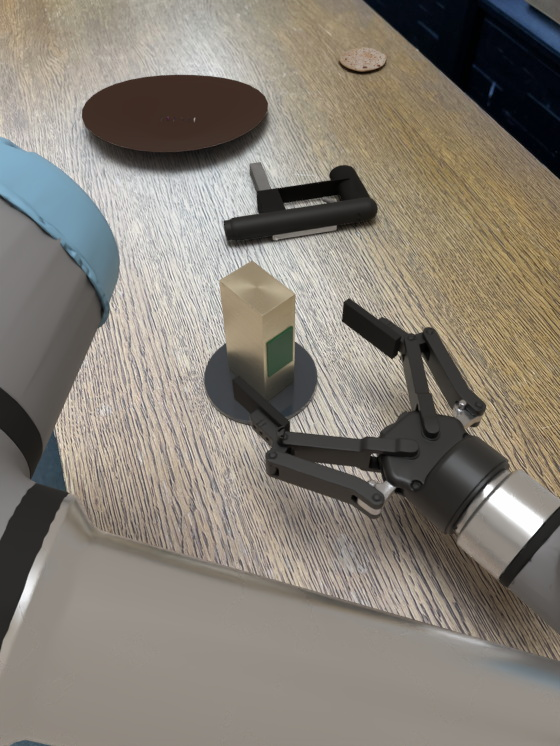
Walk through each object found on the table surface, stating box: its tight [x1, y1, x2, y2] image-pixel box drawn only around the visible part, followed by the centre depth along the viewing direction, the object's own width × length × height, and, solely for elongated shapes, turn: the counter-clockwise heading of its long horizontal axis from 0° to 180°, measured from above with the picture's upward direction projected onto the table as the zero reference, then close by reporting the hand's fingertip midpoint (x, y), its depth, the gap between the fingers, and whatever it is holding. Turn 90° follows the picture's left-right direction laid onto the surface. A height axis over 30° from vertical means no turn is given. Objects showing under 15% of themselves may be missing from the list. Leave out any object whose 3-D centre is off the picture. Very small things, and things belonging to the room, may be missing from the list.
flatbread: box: [338, 46, 388, 73], centre depth 110 cm, size 8×8×1 cm
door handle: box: [222, 161, 379, 242], centre depth 86 cm, size 3×20×16 cm
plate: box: [81, 74, 269, 153], centre depth 99 cm, size 28×28×4 cm
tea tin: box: [218, 260, 297, 401], centre depth 64 cm, size 6×4×13 cm, turn 42°
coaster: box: [203, 341, 318, 426], centre depth 69 cm, size 12×12×1 cm
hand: (292, 346), depth 59 cm, fingers open, 13 cm apart
